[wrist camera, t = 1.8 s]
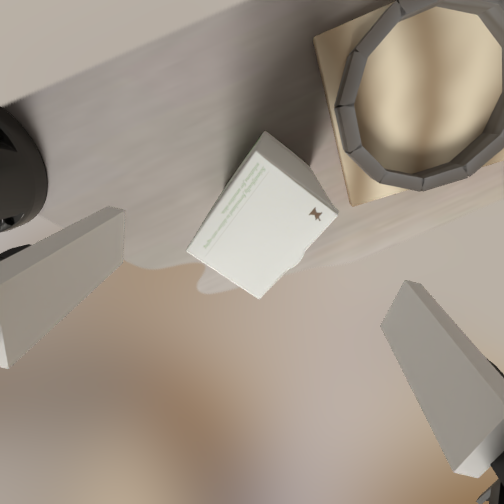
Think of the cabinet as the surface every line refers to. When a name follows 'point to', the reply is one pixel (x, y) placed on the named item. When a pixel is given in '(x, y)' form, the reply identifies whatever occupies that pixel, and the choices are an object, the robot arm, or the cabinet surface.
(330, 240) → the cabinet surface
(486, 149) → the collar
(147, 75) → the cabinet surface
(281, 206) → the skincare box
